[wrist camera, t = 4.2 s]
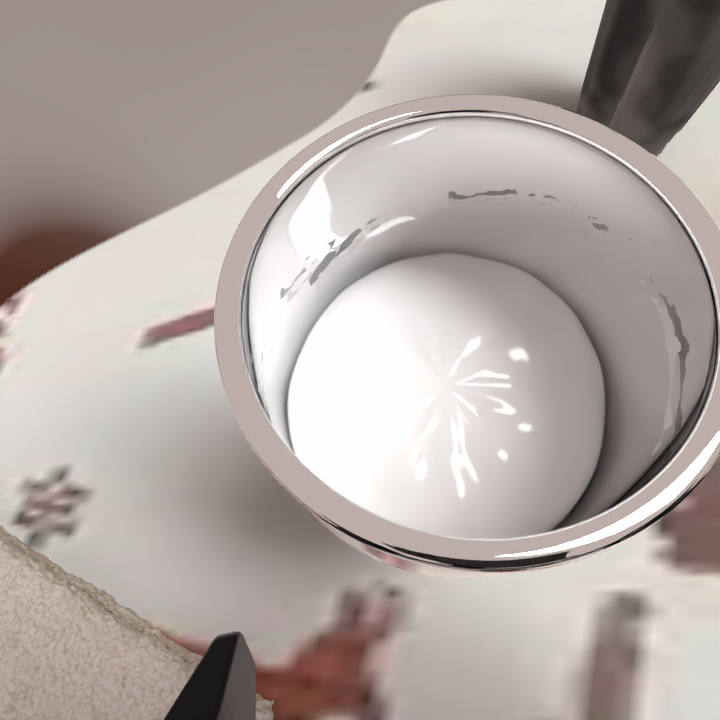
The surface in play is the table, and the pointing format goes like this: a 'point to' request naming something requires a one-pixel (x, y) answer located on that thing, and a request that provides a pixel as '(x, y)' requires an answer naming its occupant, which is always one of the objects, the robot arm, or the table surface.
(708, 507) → the table surface
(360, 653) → the table surface
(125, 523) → the table surface
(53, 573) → the washcloth
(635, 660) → the table surface
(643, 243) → the silver metal tumbler
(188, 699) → the robot arm
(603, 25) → the beverage cup
